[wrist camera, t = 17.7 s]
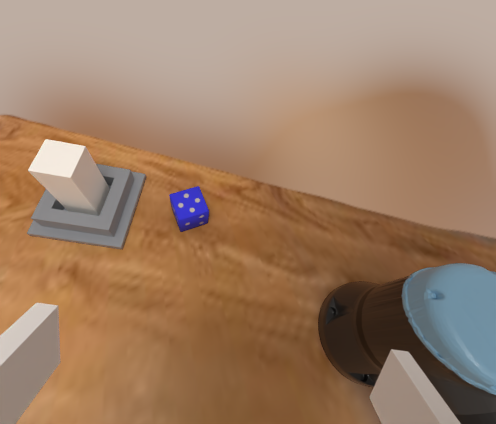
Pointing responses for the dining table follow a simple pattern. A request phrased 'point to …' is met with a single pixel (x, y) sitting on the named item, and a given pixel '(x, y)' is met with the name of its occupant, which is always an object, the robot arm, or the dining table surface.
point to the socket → (91, 226)
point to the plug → (71, 176)
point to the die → (189, 208)
